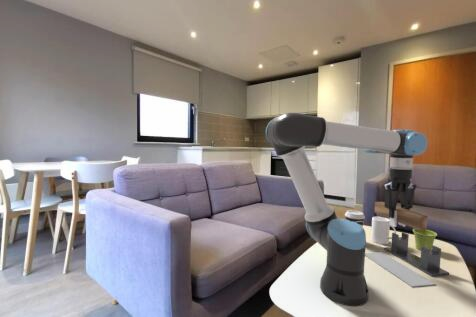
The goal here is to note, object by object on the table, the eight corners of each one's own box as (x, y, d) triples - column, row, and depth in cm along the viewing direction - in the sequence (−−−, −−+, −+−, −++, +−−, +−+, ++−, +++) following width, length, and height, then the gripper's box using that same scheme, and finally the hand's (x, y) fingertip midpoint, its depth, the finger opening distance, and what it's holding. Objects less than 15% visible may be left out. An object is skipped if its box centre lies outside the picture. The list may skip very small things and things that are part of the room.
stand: (431, 276, 93) (433, 252, 92) (384, 249, 116) (385, 230, 116) (449, 275, 94) (451, 251, 93) (398, 248, 118) (399, 229, 117)
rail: (418, 230, 87) (419, 216, 86) (374, 212, 108) (374, 201, 108) (426, 229, 87) (427, 216, 87) (381, 212, 109) (381, 201, 109)
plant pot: (440, 254, 112) (441, 236, 112) (418, 252, 114) (419, 234, 113) (428, 246, 122) (429, 229, 121) (407, 244, 123) (408, 227, 122)
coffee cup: (364, 239, 128) (365, 211, 127) (362, 245, 120) (364, 216, 119) (345, 235, 133) (346, 209, 132) (342, 241, 125) (343, 213, 124)
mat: (411, 287, 85) (411, 286, 85) (362, 253, 111) (362, 253, 111) (435, 285, 87) (435, 283, 87) (381, 252, 113) (381, 251, 113)
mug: (399, 245, 122) (400, 222, 121) (388, 248, 118) (389, 224, 117) (377, 237, 132) (378, 215, 132) (366, 239, 129) (368, 217, 128)
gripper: (390, 169, 91) (386, 229, 93) (427, 169, 94) (423, 227, 96) (375, 167, 99) (372, 223, 100) (410, 167, 102) (406, 221, 103)
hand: (397, 225), depth 98 cm, fingers closed on rail, 3 cm apart
